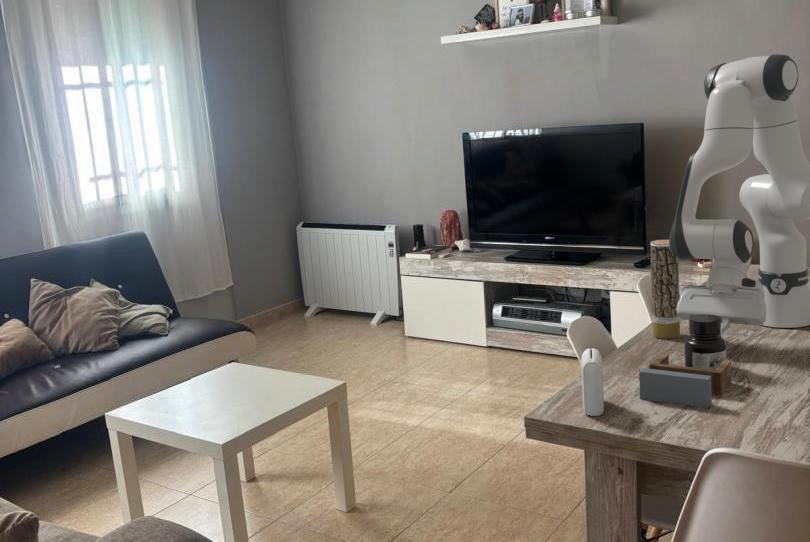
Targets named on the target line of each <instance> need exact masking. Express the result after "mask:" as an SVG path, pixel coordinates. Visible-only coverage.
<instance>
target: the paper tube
mask: <svg viewBox="0 0 810 542" xmlns="http://www.w3.org/2000/svg"><path fill="white" fill-rule="evenodd" d="M679 260H680V258H679V257H678V256H676V255H675V254H674V253H673V252H672V250H671V249H670V246H669V239H655V240H652V241H650V276H651V309H652V310H651V313H652V315H651V316H652V319H651V320H652V335H653V336H654V337H656V338H657V339H666V340H667V339H668V340H669V339H674V338H676V339H677V337H679V336H680V334H681V328H680V327H681V323H680V322H681V321H680V320H681V319H680V317H679V316H678V314H677V311H676V308H677V305H678V302H679V300H680V269H679V266H680V265H679Z"/></svg>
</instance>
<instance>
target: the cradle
mask: <svg viewBox="0 0 810 542" xmlns="http://www.w3.org/2000/svg"><path fill="white" fill-rule="evenodd" d="M669 361H670V359H669V354H668V353H661V354H660V355H658V356H657V357H656V358H655V359H654V360H653V361H652V362H651V363H650V364H649V365H648V366H649V368H648V369H656V370H664V371H673V372H682V373H690V374H699V375H708V376H711V396H722V395H723V394H724V393H725V391H726V390H727V389H728V388H729V386H730V385H731V384H732V360H728V359H726V360H723V362H722V363H721V364H720V365H719V366H718V367H717V368H716V370H711V369H702V368H693V367H685V365H684V366H683V365H682V366H681V365H674V364H673V365H672V364H670V362H669Z"/></svg>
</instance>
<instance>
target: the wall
mask: <svg viewBox="0 0 810 542" xmlns="http://www.w3.org/2000/svg"><path fill="white" fill-rule="evenodd" d="M638 375H639V399H640V400H647V401H656V402H661V403H670V404H676V405H684V406H692V407H696V408H697V407H698V408H705V409H709V407H711V405H712V403H713V402H712V400H713V399H712V395H711V376H708V375H699V374H690V373H682V372H673V371H664V370H656V369H649V368H647V367H646V368H645V367H643V368H642V369H640V370H639V374H638Z"/></svg>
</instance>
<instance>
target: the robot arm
mask: <svg viewBox="0 0 810 542" xmlns="http://www.w3.org/2000/svg"><path fill="white" fill-rule="evenodd" d="M798 82H799V70H798V66H797V64H796V62H795V61H794V60H793V59H792V58H791V56H789V55H787V54H779V53H778V54H777V53H776V54H771V55H761V56H750V57H746V58H743V59H739V60H735V61H731V62H723V63H720V64H717V65H715V66H713V67H711V69H710V70H708V72H707V74H706V76H705V78H704V81H703V89H704V94H705V97H706V98H707V100H708V101H707V104H706V110H705V118H704V126H703V127H704V128H703V129H704V130H703V131H704V132H703V137H702V142H701V144H700V146H699V148H698V149H697V151H696V152H694V153H692V154H691V155H690V156H689V159H688V161H687V163H686V167H685V171H684V175H683V179H682V183H681V188H680V193H679V197H678V203H677V208H676V212H675V215H674V216H675V217H674V220H673V223H672V226H671V229H670V234H669V239H668V240H669V246H670V249H671V250H672V252H673V253H674V254H675V255H676V256H678V257H679V260H682V261H685V260H697V259H699V260H700V259H703V260H712V266H711V269H710V270H709V273H708V277H707V280H706V281H707V282H706V285H701V284H699V285H697V284H695V285H694V284H688V285H686V286H684V287H682V288H681V290H680V292H679V302H678V305H677V308H676V311H677V314H678V316H679V317H680V320H687V321H689V318H690V317H691V316H693V315H700V314H710V315H716V316H719V317H720V318H721V334H720V336H721V337H722V338H723V337H724V336H723V335H724V333H725V332H726V331H727V330H728V329H729V328H730V327H731V324H735V325H743V326H744V325H746V326H748V325H749V326H760V327H761V326H765V327H770V328H779V329H780V328H783V329H784V328H787V329H789V328H802V327H808V326H810V286H809V271H808V268H807V241H806V238H805V236H804V235H803V234H802V233H800V231H799V230H798V229H797V227H796V225H795V223H794V220H797V221H803V220H804V221H805V220H810V164H809V161H808V159H807V157H806V154H805V152H804V148H803V143H802V138H801V132H800V125H799V117H798V111H797V104H796V103H795V99H794V98H795V97H794V95H793V94H794V91H795V90H796V87H797V86H798ZM752 149H753V155H754V157H755V159H756V160H758V162H759V163H761V165H762V166H764V168H765V169H766V170H767V172H768V173H764V174H759V175H758V174H757V175H754V176H750V177H749V178H747V179H745V181H744V182H743V183H742V185H741V187H740V188H739V189H740V190H739V196H738V197H739V202H740V204H741V205H742V207H743V208H744V209H745V210H746V212H748V214H749V215H750V217H751V219H752V221H753V224H754V227H755V230H756V233H757V236H758V243H759V269H758V274H757V280H756V279H753V278H750V277H748V271H749V268H750V267H751V262H752V255H753V251H754V245H755V244H754V241H755V240H754V235H753V232H752V230H751V229H750V228H749V226H748V225H747V224H746V223H744V221H742V220H740V219H732V218H731V219H730V218H729V219H728V218H727V219H726V218H725V219H721V218H720V219H719V218H718V219H699V218H696V214H697V208H698V205H699V200H700V195H701V190H702V187H703V185H704V184H705V182H706V181H707V180H708V179H710V178H712V177H713V176H715V175H716V174H720V173H722V172H726V171H728V170H730V169H732V168H735V167H736V166H738V165H739V164H741V163H743V162H744V161H745V160H746V159H747V158H748V157H749V155H750V154H751V152H752Z"/></svg>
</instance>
